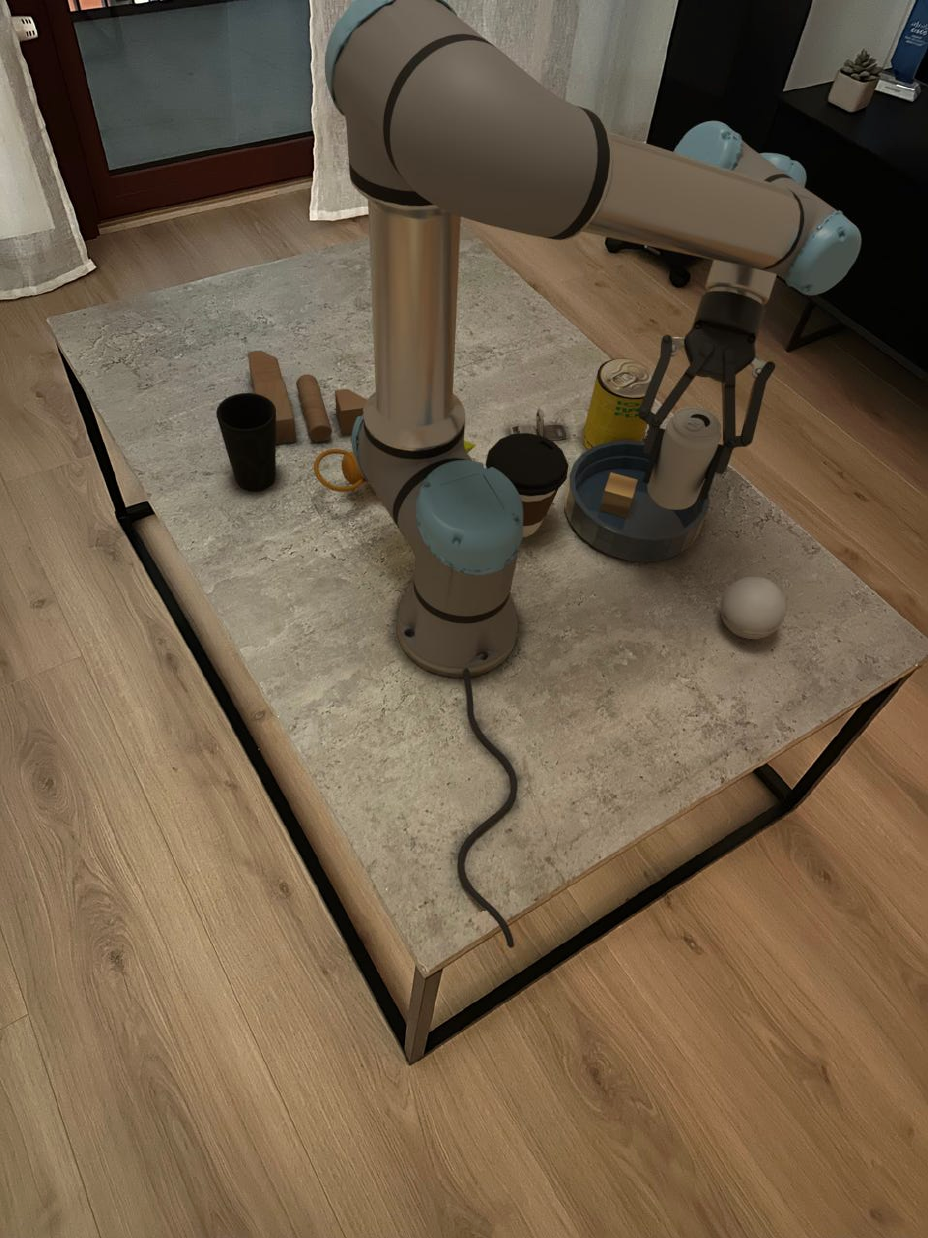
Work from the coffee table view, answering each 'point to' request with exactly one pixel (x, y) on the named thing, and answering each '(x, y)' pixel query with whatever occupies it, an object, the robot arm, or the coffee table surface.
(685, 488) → the beverage can
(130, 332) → the coffee table surface
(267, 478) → the cup
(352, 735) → the coffee table surface
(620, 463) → the bowl
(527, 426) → the strap clip
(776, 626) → the bath bomb
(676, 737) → the coffee table surface
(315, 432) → the wooden block set
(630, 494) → the block
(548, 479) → the coffee cup
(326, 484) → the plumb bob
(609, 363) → the beverage can
